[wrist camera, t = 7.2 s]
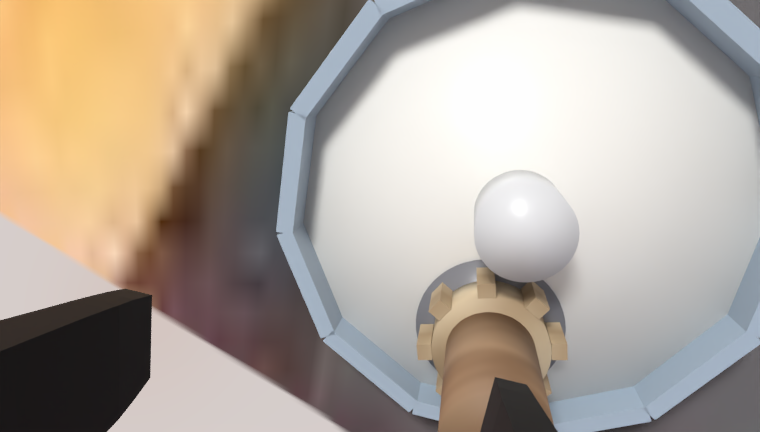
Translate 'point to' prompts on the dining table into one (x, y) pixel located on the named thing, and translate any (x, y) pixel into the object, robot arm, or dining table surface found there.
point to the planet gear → (488, 346)
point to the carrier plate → (565, 124)
